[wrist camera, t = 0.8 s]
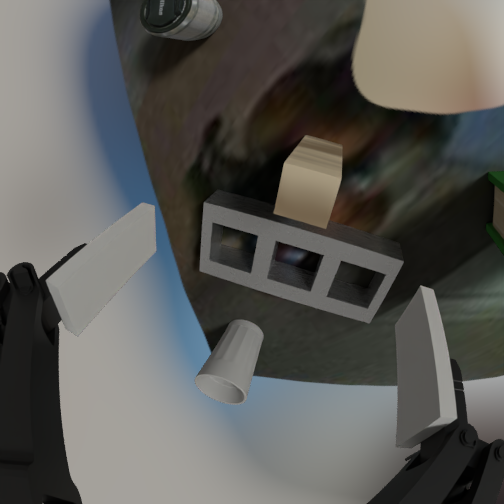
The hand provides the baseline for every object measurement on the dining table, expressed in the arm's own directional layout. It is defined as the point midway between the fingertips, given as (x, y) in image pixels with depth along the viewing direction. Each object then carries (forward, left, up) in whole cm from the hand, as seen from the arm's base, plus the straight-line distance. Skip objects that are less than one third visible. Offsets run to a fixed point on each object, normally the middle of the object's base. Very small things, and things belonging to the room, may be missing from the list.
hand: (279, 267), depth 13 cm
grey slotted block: (+12, +1, -20) cm, 24 cm away
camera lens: (-14, -16, -21) cm, 30 cm away
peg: (0, 0, -21) cm, 21 cm away
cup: (+31, -4, -21) cm, 37 cm away
